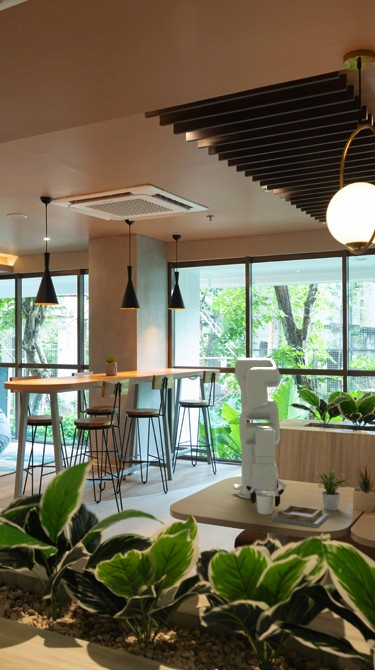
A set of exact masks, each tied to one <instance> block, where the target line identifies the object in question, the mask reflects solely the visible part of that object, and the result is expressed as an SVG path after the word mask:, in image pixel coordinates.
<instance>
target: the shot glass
mask: <svg viewBox="0 0 375 670" xmlns="http://www.w3.org/2000/svg"><path fill="white" fill-rule="evenodd" d="M274 499H275V495H274V494H273V493H270V492H266V493H257V494H256V509H257V513H258V514H260V515H271V514H272V513H273V509H274V508H273V507H274Z"/></svg>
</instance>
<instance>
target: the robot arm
mask: <svg viewBox="0 0 375 670" xmlns="http://www.w3.org/2000/svg"><path fill="white" fill-rule="evenodd" d="M234 373H235V377H236V381H237V384H238V386H239V389H240V403H241V405H240V406H241V412H240V415H239V418H238V429H239V439H240V445H241V446H240V448H241V483H240V484H235V483H234V484H233V486H232V487H233V490H236V491H237V490H238V491H239V492H237V496H238V497H240V498H241V499H248V500H250V503H251V505H254V504H257V499H256V494H257V493H267V492H273V493H274V494H275V495H274V507H279V506H280V505H281V495H283V493H284V492H285V490H286V488H287V487H288V484H286V483H285V482H283V481H282V480H281V479H279V471H278V466H277V463H276V461H275V460H276V457H275V456H276V453H275V452H276V449H275V448H276V446H275V445H278V444H279V443H280V439H281V428H280V414H279V406H278V403H277V401H276V400H275V399H273V398H269V395H268V388H277V387H279V385H280V382H281V374H280V371H279V368H278V366H277V364H276V362H275V361H274V359H272V358H269V357H268V358H267V357H266V358H264V357H263V358H259V357H256V358H255V357H245V358H240V359H237V361H235V363H234ZM247 420H248V421H266V422H247ZM280 486H281V488H280ZM279 488H280V489H279ZM265 491H266V492H265Z"/></svg>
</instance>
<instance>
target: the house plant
mask: <svg viewBox="0 0 375 670" xmlns="http://www.w3.org/2000/svg"><path fill="white" fill-rule="evenodd" d="M331 467H332V466H331ZM331 467H330V468H329V472H328V473H329V477H328V475H327V474H326V472H324V471H321V472H322V473H321V472H317V473H315V474H317V475H318V476H319V477H320V478H321V479H322V480H318V482H319V483H320V484H318V486H317V487H318V489H321V488H323V489H325V490H324V491H322V492H321V494H322V501H323V508H324V509H325V510H327V511H337V510H338V509H339V504H340V503H339V501H340V498H341V493H340V492H339V491H338V489H340V488H347V484H342V483H345V482H351V480H349V479H343V480H340V479H342V478H345V476H344V474H346V472H344V473H341V474H339V476H338V477H337V478H336V479H335V477H336V475H337V474H338V472H340V469H338V470H337V471H336V472H335V469H332V468H331Z"/></svg>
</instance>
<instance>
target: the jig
mask: <svg viewBox="0 0 375 670" xmlns="http://www.w3.org/2000/svg"><path fill="white" fill-rule="evenodd" d="M328 518H329V513H324V512H323V508H317V507H312V506H311V507H309V506H302V505H296V504H295V505H294V504H288V505H287V506H286V507H284V508H282V509H281V510H280V511H279V512H278V513H276V514H275V515H273V516H272V518H271V521H273V522H279V521H282V522H281V523H285V522H288V524H292V523H297V524H296V525H299V524H306V525H311V526H310V527H313V526H316V527H315V528H318V527H319V526H320V525H321V524H323V522H324V521H326V520H327V519H328ZM306 525H305V526H306Z"/></svg>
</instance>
